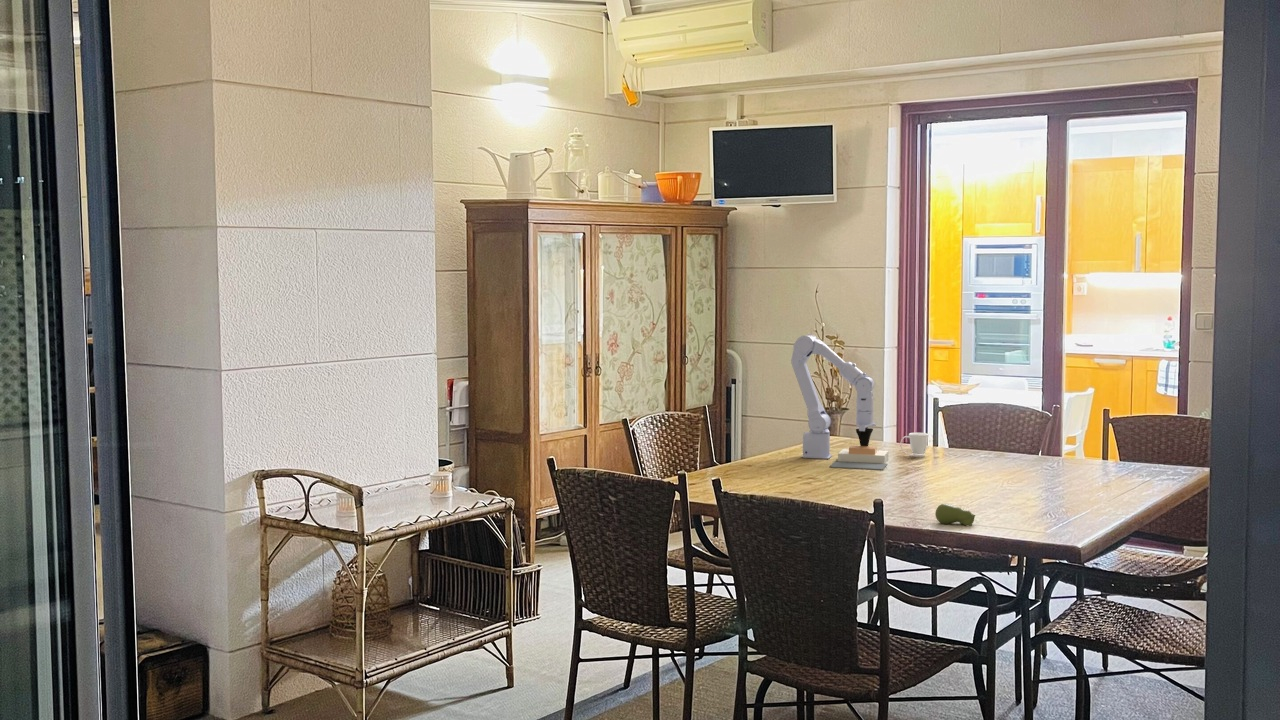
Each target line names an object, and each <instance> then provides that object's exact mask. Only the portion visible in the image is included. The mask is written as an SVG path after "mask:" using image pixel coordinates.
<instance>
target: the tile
mask: <svg viewBox="0 0 1280 720" xmlns="http://www.w3.org/2000/svg"><path fill="white" fill-rule="evenodd" d="M848 449H849V454H868V455H875V454H876V453H877V450H878V446H872V445H871V446H870V445H868V446H860V445H850V446H849V447H848Z"/></svg>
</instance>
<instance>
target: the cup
mask: <svg viewBox="0 0 1280 720" xmlns="http://www.w3.org/2000/svg"><path fill="white" fill-rule="evenodd" d="M929 436H930V434H929V433H927V432H910V433H908V435H905V436H903V437H902V438H901V440H900V444H899V445H900V449H901V450H902V452H904V453H905V454H906V455H908V456H910V457H917V458H921V457H922V458H923V457H925V456H926V455H925V454H926V450H927V447H928V441H929ZM904 439H909V444H910V450H911V454H910V453H909V452H908V451H907V452H906V451H905V450H904V449H903V448H902V443H903V440H904Z"/></svg>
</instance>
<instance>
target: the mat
mask: <svg viewBox="0 0 1280 720" xmlns="http://www.w3.org/2000/svg"><path fill="white" fill-rule="evenodd" d="M887 466H888V463H865V462H844V461H838V460H834V461H833V462H832V463H831V464H830V465H829V468H834V469H850V470H851V469H852V470H853V469H854V470H869V471H872V470H875V471H884V470H885V468H886V467H887Z"/></svg>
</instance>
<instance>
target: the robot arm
mask: <svg viewBox="0 0 1280 720" xmlns="http://www.w3.org/2000/svg"><path fill="white" fill-rule="evenodd" d="M792 349H793V350H792V355H791V360H790V362H791V366H792V368H793V372H794V376H795V378H796V380H797V384H798V386H799V388H800V391H801V393H802V394H801V395H802V396H803V397H802V398H803V400H804V404H805V406H806V409H807V413H806V414H807V417H808V424H807V425H808V427H809V428H808V429H810V430H808V432H807V431H805V432H804V433H803V434H802V435H803V436H802V458H804V459H822V460H823V459H824V460H825V459H828V460H829V459H831V457H833V454H830V451H831V450H830V447H831V446H830V445H831V441H830V437H831V436H830V435H831V433H830V432H831V431H830V430H829V428H830V427H831V424H832V418H831V416H829V414H828V413H827V412H826V409H825V408H824V406H823V405H822V403H821V400H820V399H819V395H818V392H817V390H816V386H815V384H814V381H813V378H812V376H811V373H810V371H809V370H810V369H809V367H808V364H807V362H808V360H809V359H810V357H811V355H812V354H813V355H820V356H822V357H823V358H824V359H826V360H827V361H829V362H830V363H831V364H832V365H833V366H835V367H836V368H837V369H838V372H839V373H838V374H839V375H840V376H842V378H843V379H845V380H846V381H847V382H848V383H849V384H850V385H851V386H854V388H855V391H856V415H855V416H856V419H855V420H856V422H855V426H857V428H856V429H855V431H856V435H857V437H858V440H859V441H858V442H859V446H870V445H869V443H870V439H871V436H872V433H873V431H874V428H871V427H874V426H875V427H876V426H877V422H876V423H875V422H874V391H873V390H874V388H875V385H876V383H875V381H874V379H873V378H872V377H871V376H870V375H867V373H866V372H863V371H862V370H860V368H859V367H857V364H856V363H855V362H851V361H845V360H843V358H841V357H840V356H839V355H838V354H837V353H836V352H835V351H834V350H832V349H831V348H830V347H829V346H828V344H826V343H825V342H824V341H822V340H821V339H819V338H818V337H816V336H815V335H814V334H807V335H801V336H799V337H798V338H797V339H796V341H795V342H794V344H793V348H792Z"/></svg>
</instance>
